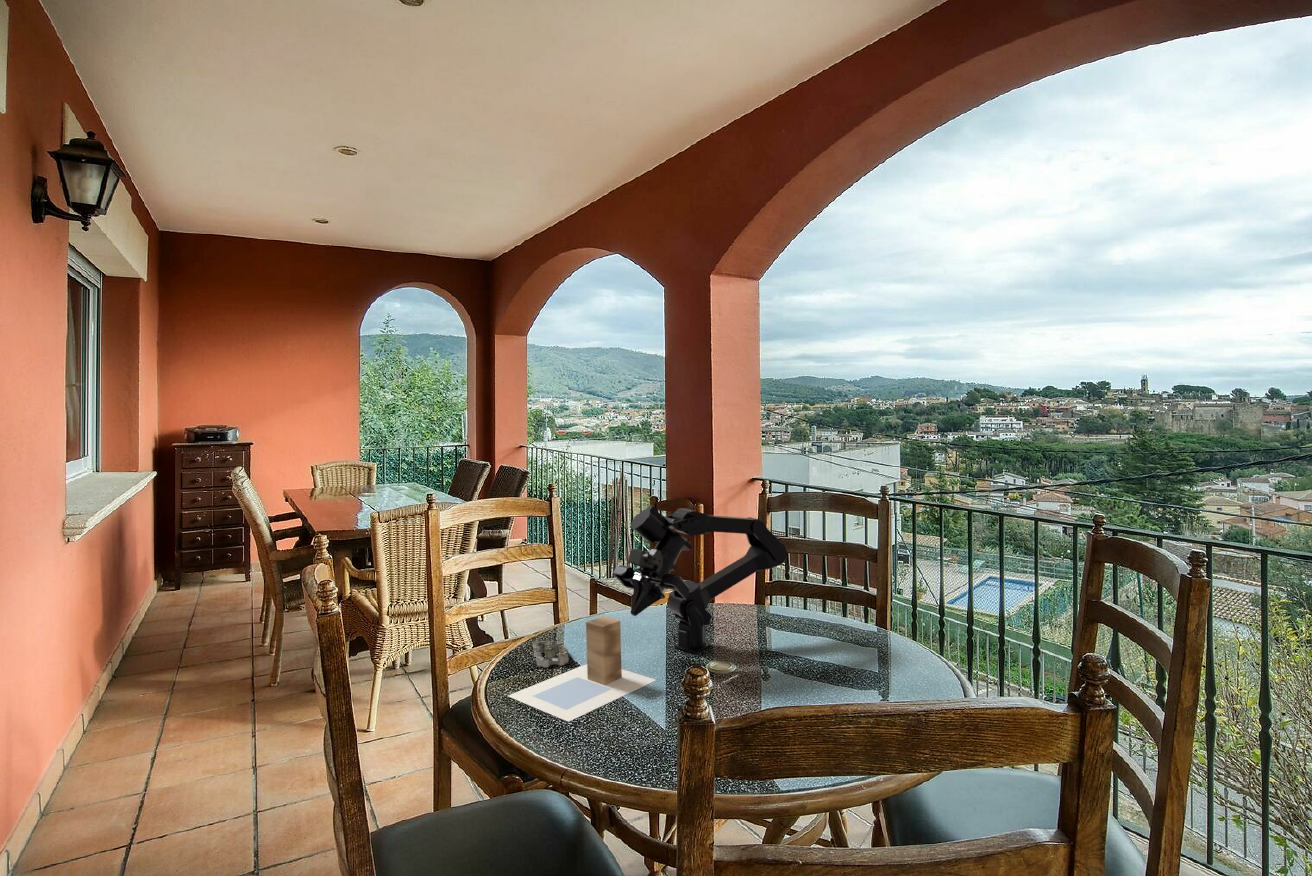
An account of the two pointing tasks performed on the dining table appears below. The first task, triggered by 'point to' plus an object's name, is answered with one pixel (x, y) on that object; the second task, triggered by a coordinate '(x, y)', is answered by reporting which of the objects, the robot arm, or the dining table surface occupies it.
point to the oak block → (603, 650)
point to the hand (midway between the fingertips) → (632, 614)
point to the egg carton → (550, 653)
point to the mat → (577, 692)
